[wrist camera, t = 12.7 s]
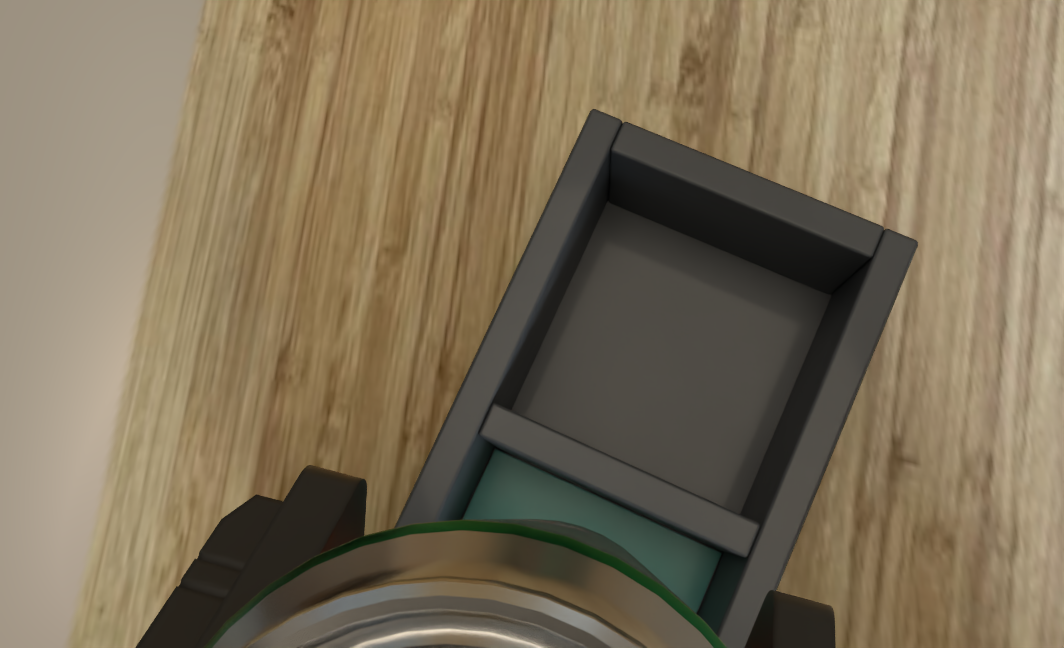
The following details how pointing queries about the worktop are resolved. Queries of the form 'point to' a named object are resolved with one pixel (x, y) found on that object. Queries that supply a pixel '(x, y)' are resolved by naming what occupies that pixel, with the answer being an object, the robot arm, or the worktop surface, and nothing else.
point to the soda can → (469, 593)
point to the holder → (669, 367)
